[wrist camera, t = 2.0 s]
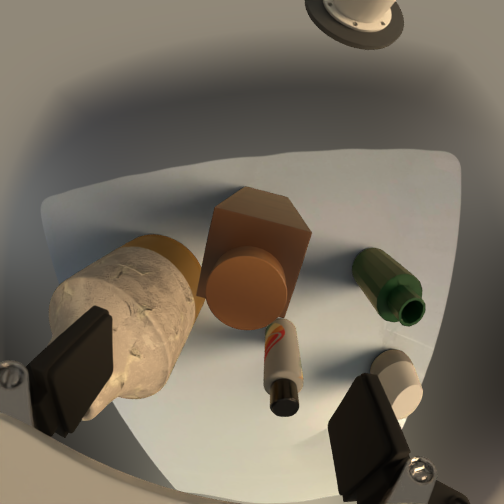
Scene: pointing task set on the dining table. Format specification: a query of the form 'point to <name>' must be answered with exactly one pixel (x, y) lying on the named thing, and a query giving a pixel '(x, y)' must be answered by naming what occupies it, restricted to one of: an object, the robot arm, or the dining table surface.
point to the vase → (135, 311)
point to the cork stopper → (246, 288)
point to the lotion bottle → (282, 367)
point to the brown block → (257, 233)
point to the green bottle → (389, 287)
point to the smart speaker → (398, 381)
